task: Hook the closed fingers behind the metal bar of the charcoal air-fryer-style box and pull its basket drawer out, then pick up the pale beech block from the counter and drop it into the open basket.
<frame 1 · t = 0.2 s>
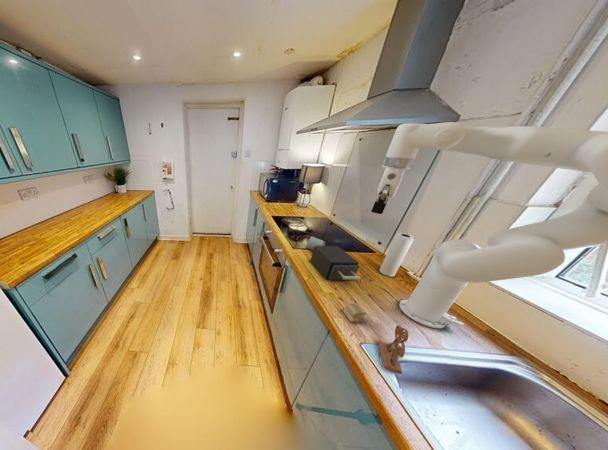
hand: (377, 209, 75), 36 cm above the counter, tool pointing down, fingers open, 9 cm apart
basket: (338, 267, 93), point 5 cm above the counter, slide at 0.5 cm
block: (352, 316, 74), on the counter
air fryer: (329, 269, 100), on the counter
paper towel roll: (387, 273, 98), on the counter
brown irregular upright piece: (388, 357, 60), on the counter
ceramic mug: (314, 249, 118), on the counter
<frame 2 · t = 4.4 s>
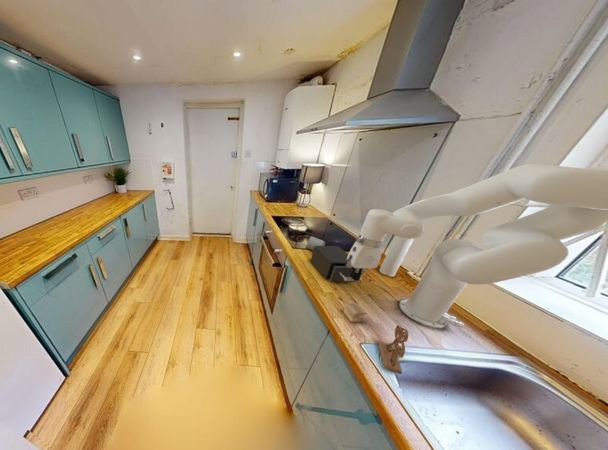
hand: (354, 278, 84), 6 cm above the counter, tool pointing down, fingers closed
basket: (339, 268, 93), point 5 cm above the counter, slide at 1.4 cm, touching gripper
everything else where it was.
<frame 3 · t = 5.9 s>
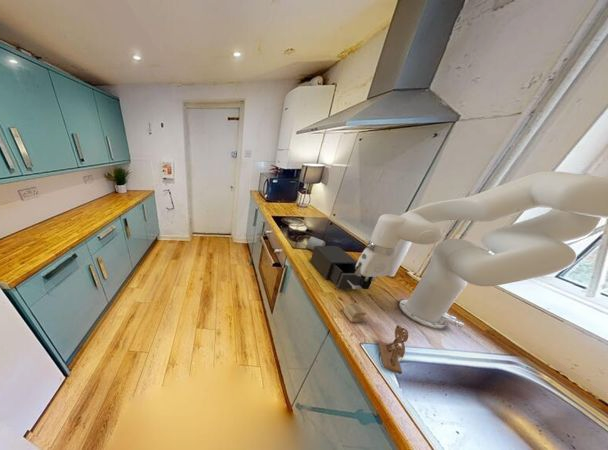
hand: (363, 286, 79), 6 cm above the counter, tool pointing down, fingers closed
basket: (346, 275, 88), point 5 cm above the counter, slide at 6.5 cm, touching gripper
everything else where it was.
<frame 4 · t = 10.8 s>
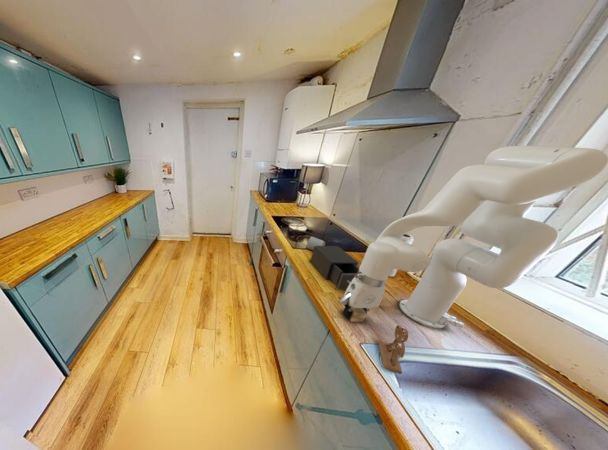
hand: (352, 315, 73), 0 cm above the counter, tool pointing down, fingers closed on block, 4 cm apart
basket: (346, 275, 88), point 5 cm above the counter, slide at 6.5 cm
block: (352, 316, 74), on the counter, touching gripper
everything else where it was.
when the fingers open (9 cm above the counter, at t = 16.3 s): block drops 4 cm and tips over, resting on basket.
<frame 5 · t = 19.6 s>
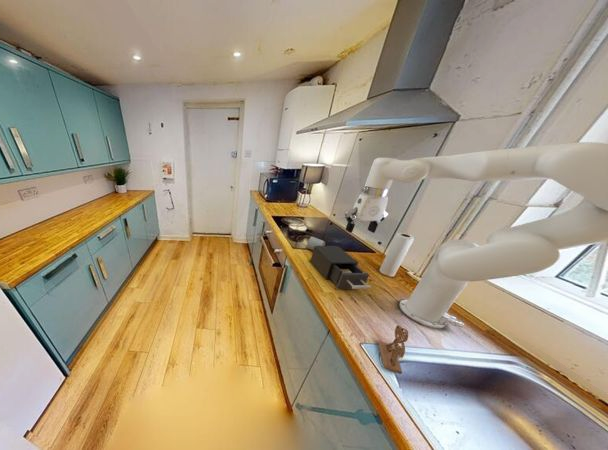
hand: (359, 231, 83), 25 cm above the counter, tool pointing down, fingers open, 9 cm apart
basket: (346, 275, 88), point 5 cm above the counter, slide at 6.3 cm, touching block
block: (348, 279, 87), point 4 cm above the counter, tilted 90°, touching basket
everything else where it was.
at the end: basket slide at 6.3 cm; block inside the target area in the basket (0.4 cm from its centre), point 4.2 cm above the air fryer's base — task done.
